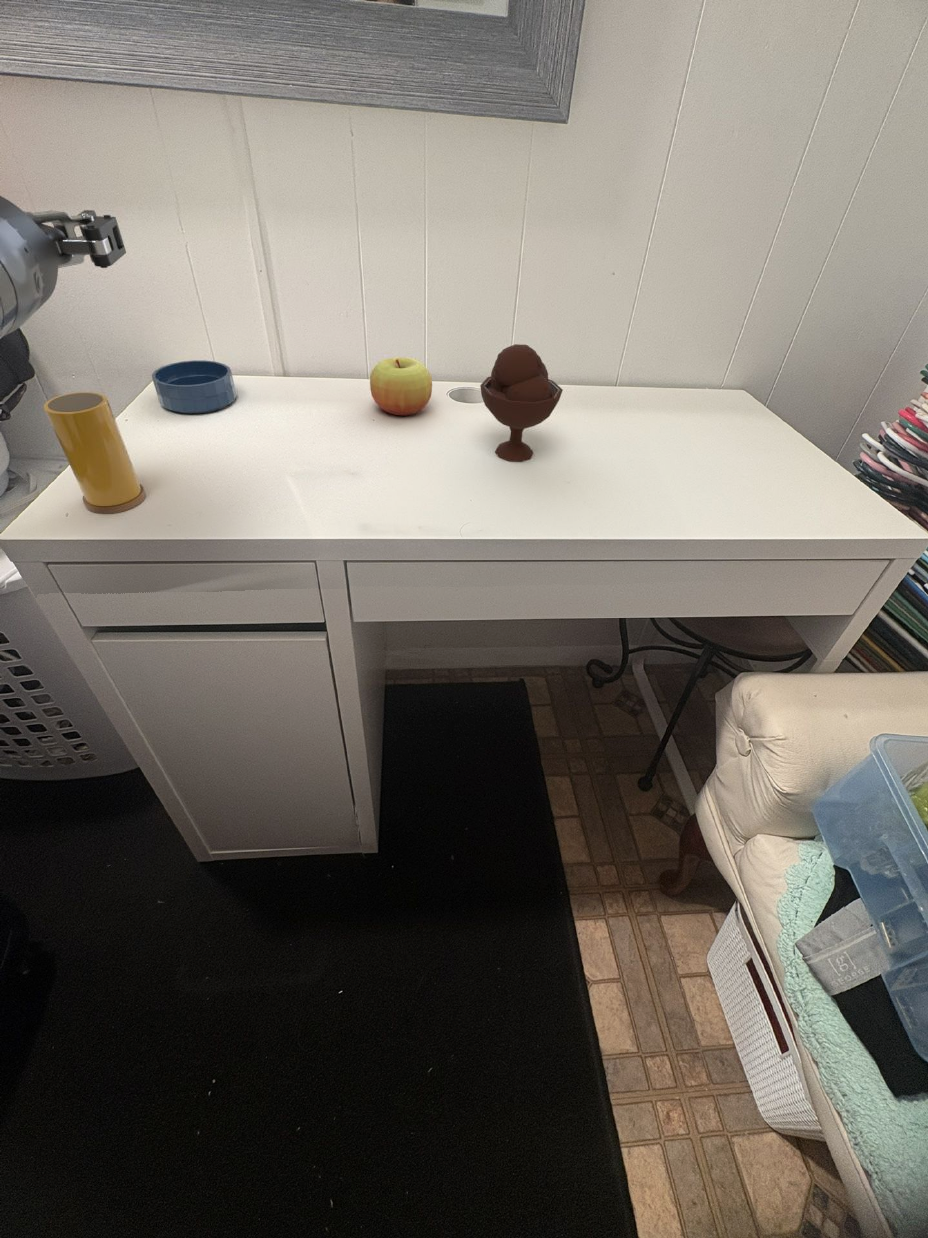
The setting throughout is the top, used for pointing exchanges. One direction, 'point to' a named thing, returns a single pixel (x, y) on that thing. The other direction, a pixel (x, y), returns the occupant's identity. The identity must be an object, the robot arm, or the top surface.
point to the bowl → (194, 386)
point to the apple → (401, 385)
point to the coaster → (116, 508)
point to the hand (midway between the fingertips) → (39, 223)
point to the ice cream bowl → (519, 397)
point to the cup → (93, 447)
